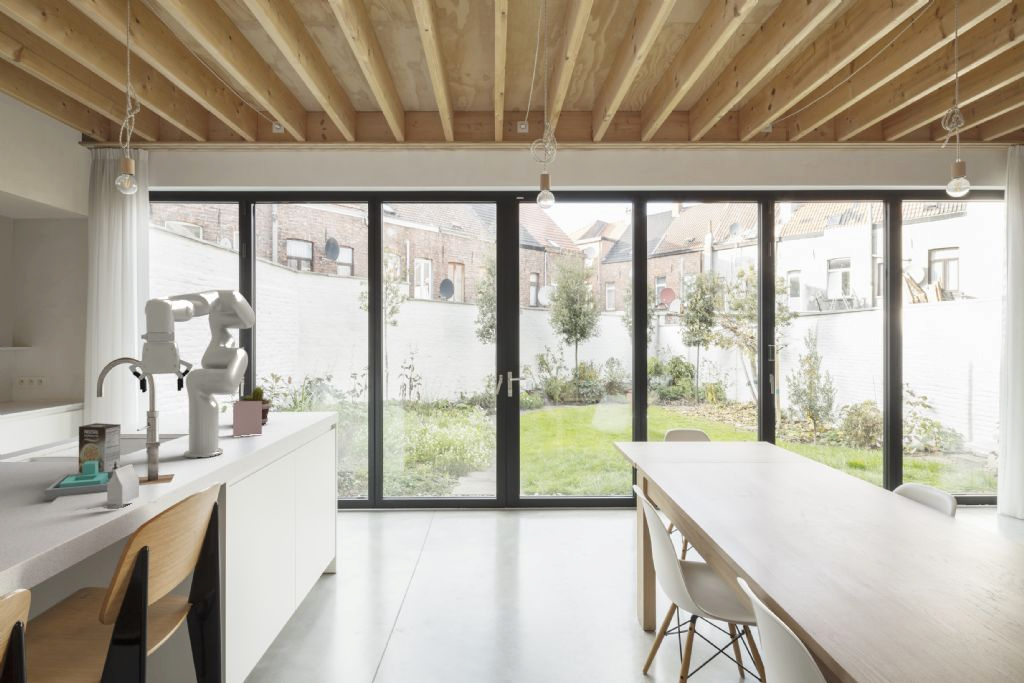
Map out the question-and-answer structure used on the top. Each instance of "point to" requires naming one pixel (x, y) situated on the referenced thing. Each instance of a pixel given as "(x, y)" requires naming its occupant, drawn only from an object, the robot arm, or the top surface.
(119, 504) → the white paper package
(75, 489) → the tray
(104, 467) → the coffee box
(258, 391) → the flowerpot
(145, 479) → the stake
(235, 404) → the greeting card
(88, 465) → the collar
